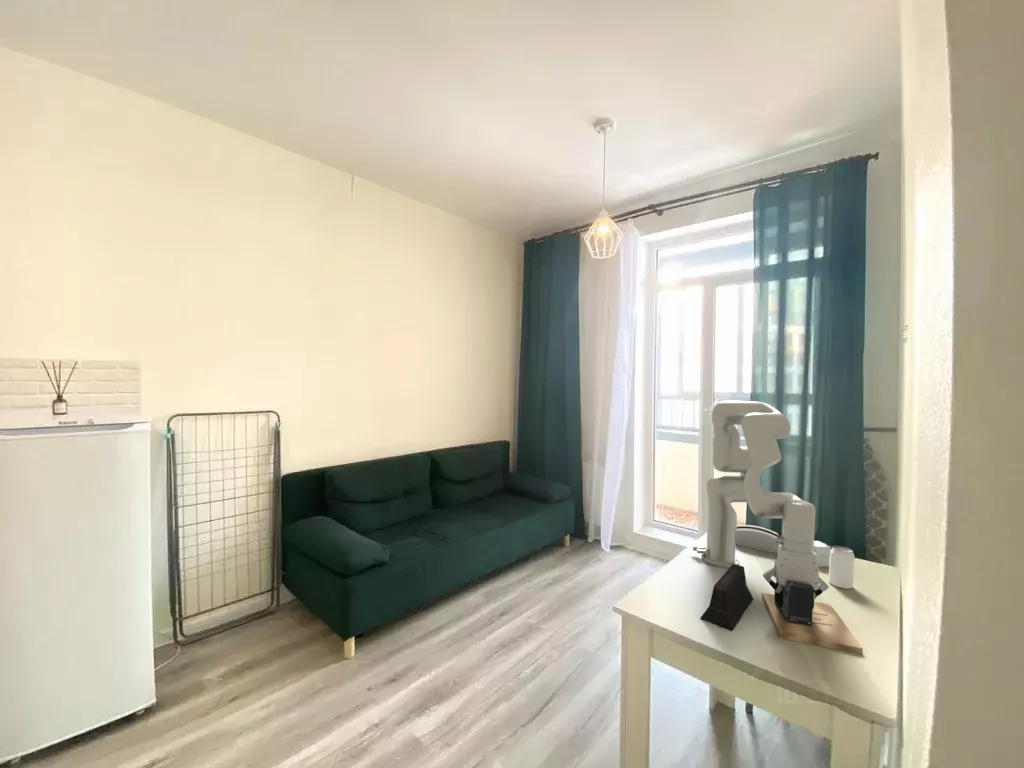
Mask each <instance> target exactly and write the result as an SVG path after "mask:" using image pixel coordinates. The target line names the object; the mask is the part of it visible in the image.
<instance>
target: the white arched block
mask: <svg viewBox="0 0 1024 768" xmlns="http://www.w3.org/2000/svg"><path fill="white" fill-rule="evenodd" d="M776 538H780V536H779V533H778V532H776V531H773V530H771V529H768V528H765V527H762V526H759V525H751V524H739V525H737V527H736V545H737V544H739V545H738V546H741V545H743V547H746V546H747V547H746V548H751V547H752V548H751V549H755V548H756V549H755V550H760V551H766V552H769V553H774V554H776V553H777V550H778V547H779V545H781V544H779V543H776Z"/></svg>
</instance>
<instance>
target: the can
mask: <svg viewBox="0 0 1024 768" xmlns="http://www.w3.org/2000/svg"><path fill="white" fill-rule="evenodd" d="M828 568H829V569H828V582H829V584H831V585H832V586H834V587H836V588H839V589H843V590H844V589H845V590H851V589H852V588H853V585H854V572H855V555H854V551H853V550H852V549H851V548H849V547H845V546H840V545H833V546H831V551H830V564H829V566H828Z"/></svg>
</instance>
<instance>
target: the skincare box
mask: <svg viewBox="0 0 1024 768" xmlns="http://www.w3.org/2000/svg"><path fill="white" fill-rule="evenodd" d="M831 549H832V546H830V545H827V543H825V542H824V543H823V542H822V541H820V540H814V546H813V551H814V552H815V553H816V554H817V559H818V567H829V564H830V551H831Z"/></svg>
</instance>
